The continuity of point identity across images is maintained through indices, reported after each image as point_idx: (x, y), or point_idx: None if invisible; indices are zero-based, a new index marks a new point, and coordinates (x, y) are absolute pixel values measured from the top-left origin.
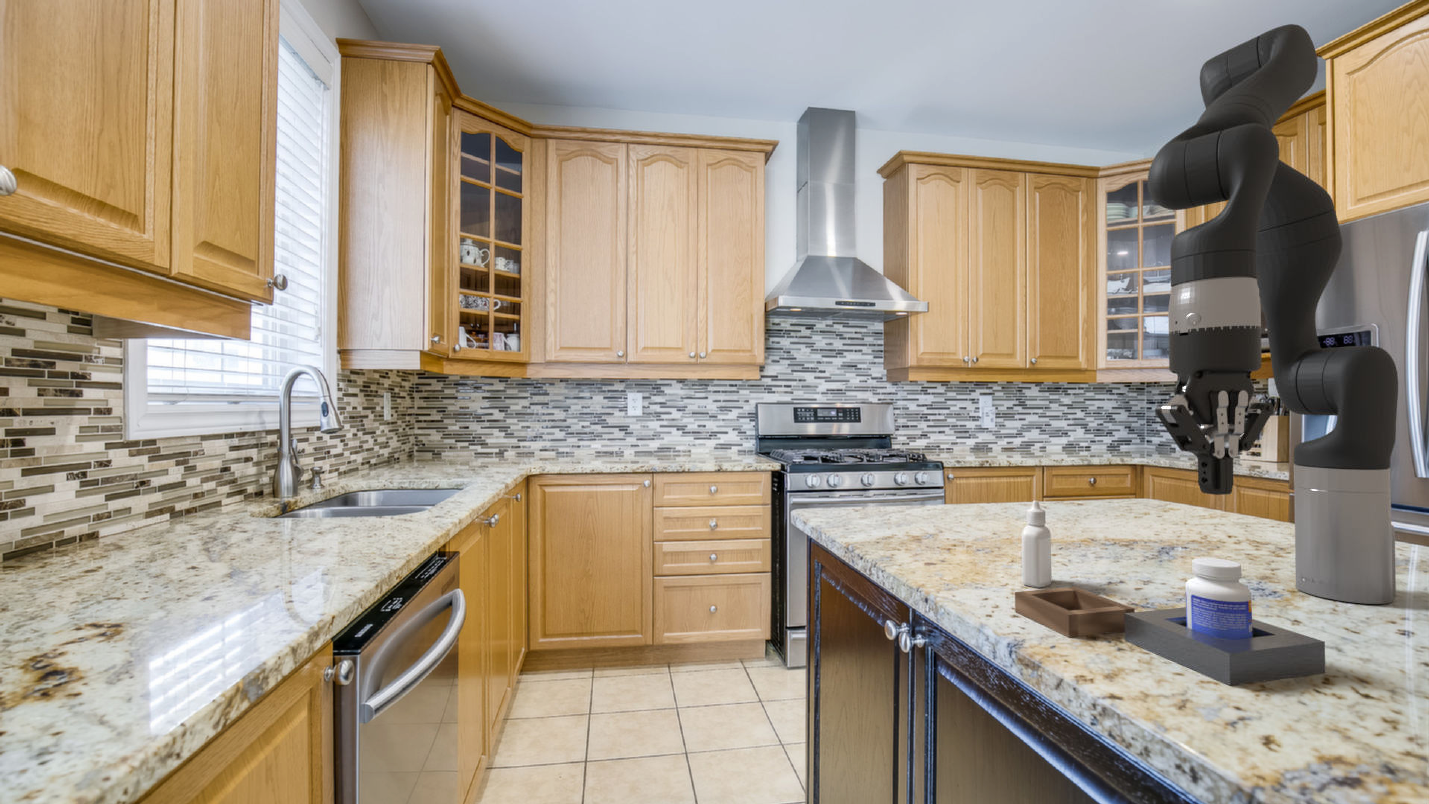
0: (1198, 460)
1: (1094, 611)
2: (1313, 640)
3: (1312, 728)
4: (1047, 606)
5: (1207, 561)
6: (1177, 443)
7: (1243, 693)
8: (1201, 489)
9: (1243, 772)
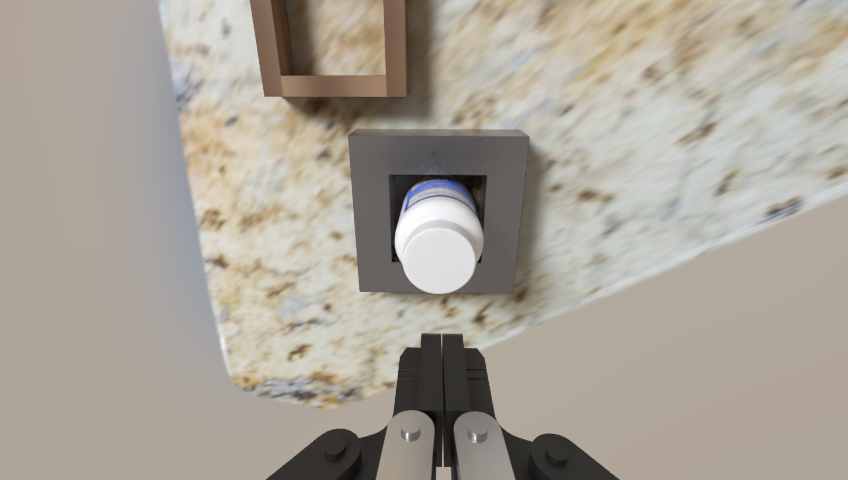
0: (393, 415)
1: (323, 91)
2: (504, 287)
3: (357, 346)
4: (256, 38)
5: (428, 255)
6: (295, 461)
7: None
8: (422, 336)
9: (239, 373)
